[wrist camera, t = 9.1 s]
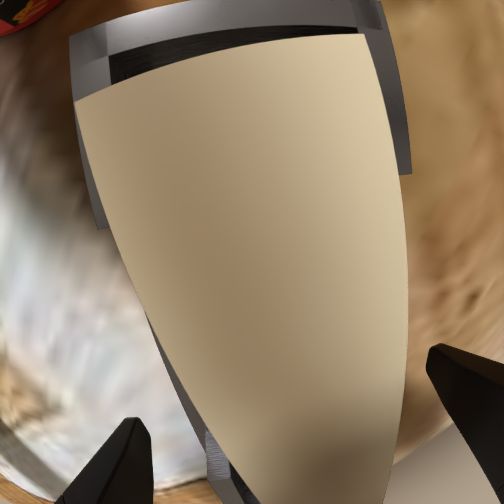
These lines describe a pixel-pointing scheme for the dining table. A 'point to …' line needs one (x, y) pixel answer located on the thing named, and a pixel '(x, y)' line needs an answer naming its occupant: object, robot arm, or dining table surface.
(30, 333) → the dining table surface
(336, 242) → the beige rectangular block
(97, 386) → the dining table surface
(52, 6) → the canned food
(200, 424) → the bracket
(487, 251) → the dining table surface
